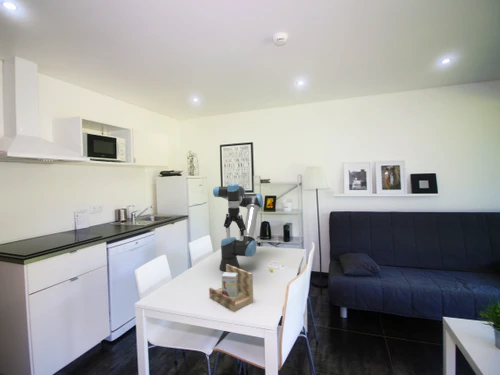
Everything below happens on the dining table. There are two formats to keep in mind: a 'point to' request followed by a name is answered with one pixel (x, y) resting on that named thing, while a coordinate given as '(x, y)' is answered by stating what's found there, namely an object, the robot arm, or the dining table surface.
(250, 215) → the robot arm
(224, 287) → the ink box
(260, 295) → the dining table surface
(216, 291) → the wooden holder
